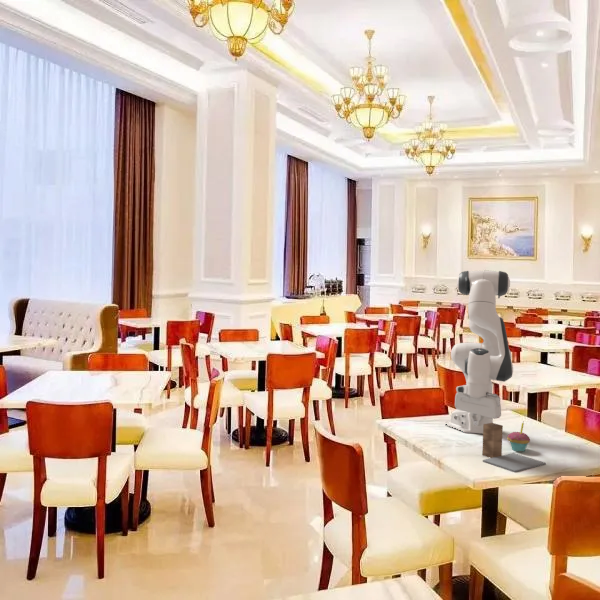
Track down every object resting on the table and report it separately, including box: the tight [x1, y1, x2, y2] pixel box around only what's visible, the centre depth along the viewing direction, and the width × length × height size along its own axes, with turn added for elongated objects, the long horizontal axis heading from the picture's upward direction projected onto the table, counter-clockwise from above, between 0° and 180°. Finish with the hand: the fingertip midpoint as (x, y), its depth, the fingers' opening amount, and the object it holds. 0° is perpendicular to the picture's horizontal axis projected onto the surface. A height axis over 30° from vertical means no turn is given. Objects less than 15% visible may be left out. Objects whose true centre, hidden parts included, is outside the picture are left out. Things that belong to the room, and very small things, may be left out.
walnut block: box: [482, 422, 504, 458], centre depth 233 cm, size 5×5×12 cm
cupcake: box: [506, 420, 531, 452], centre depth 241 cm, size 9×8×12 cm
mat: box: [482, 452, 547, 473], centre depth 224 cm, size 14×18×1 cm
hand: (476, 425), depth 239 cm, fingers closed
